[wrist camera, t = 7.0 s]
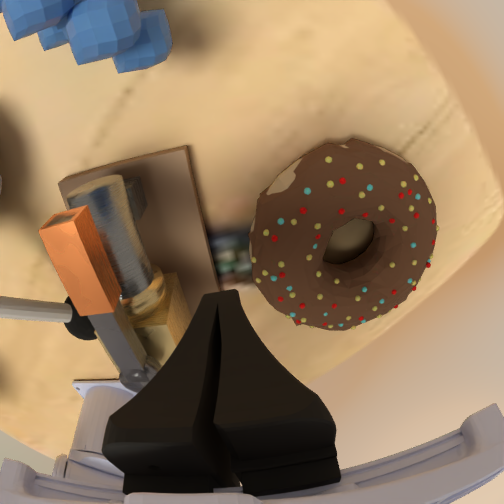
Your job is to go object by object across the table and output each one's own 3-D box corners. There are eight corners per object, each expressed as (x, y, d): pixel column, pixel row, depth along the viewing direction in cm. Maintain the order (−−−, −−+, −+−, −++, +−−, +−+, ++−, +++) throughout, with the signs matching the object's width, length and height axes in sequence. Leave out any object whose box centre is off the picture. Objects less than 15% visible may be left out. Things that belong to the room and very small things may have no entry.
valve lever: (168, 370, 19) (165, 395, 17) (133, 372, 19) (128, 397, 17) (95, 200, 13) (78, 219, 11) (53, 212, 13) (34, 231, 11)
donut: (204, 232, 23) (201, 272, 18) (351, 95, 18) (385, 103, 14) (326, 328, 29) (340, 369, 24) (443, 231, 24) (475, 262, 20)
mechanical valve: (-44, 81, 12) (-98, 291, 7) (116, 163, 28) (153, 317, 23) (-83, 173, 15) (-101, 349, 10) (57, 219, 31) (79, 355, 26)
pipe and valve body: (211, 360, 28) (211, 420, 22) (163, 365, 28) (155, 423, 22) (149, 157, 18) (118, 193, 13) (84, 174, 18) (37, 216, 13)
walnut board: (235, 347, 29) (236, 356, 28) (143, 357, 29) (141, 367, 28) (186, 145, 19) (184, 149, 18) (65, 177, 19) (57, 183, 18)
